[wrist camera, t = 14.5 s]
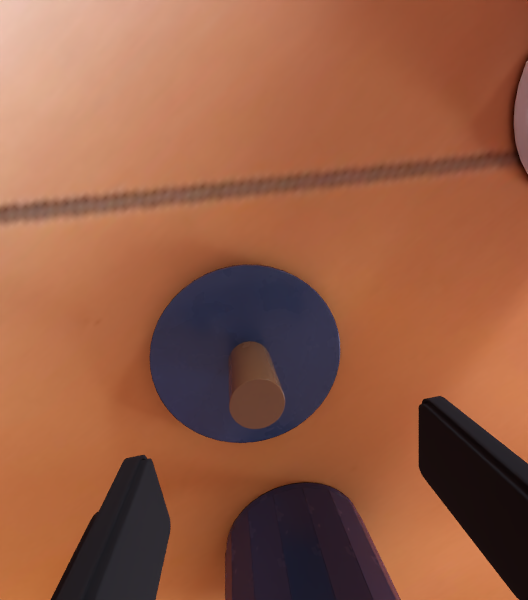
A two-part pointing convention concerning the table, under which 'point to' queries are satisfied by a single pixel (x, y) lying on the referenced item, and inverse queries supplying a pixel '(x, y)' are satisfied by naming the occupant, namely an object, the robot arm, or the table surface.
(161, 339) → the lid
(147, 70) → the table surface
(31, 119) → the table surface
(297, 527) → the pail
